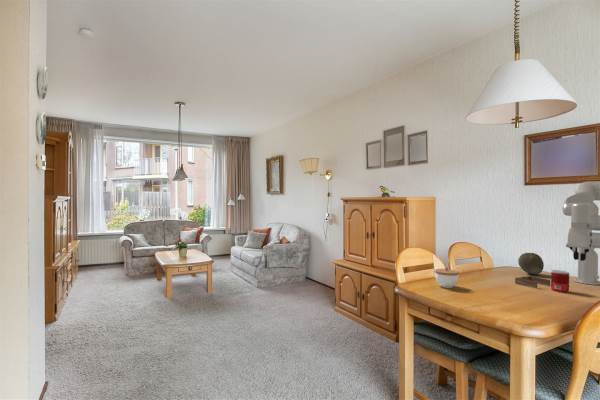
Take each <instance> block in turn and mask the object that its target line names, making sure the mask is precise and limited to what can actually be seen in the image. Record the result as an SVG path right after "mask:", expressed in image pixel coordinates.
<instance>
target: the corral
mask: <svg viewBox="0 0 600 400" xmlns="http://www.w3.org/2000/svg"><path fill="white" fill-rule="evenodd" d="M514 279H515V283H514V284H516V285H520V286H525V287H528V288H533V289H538V284H539V285H543V286H548V287H551V279H546V278H541V277H538V276H537V277H536V276H534V275H525V276H518V277H515V278H514Z"/></svg>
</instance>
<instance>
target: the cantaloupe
mask: <svg viewBox="0 0 600 400" xmlns="http://www.w3.org/2000/svg"><path fill="white" fill-rule="evenodd" d="M517 262H518V266H519V267H520V269H521V270H522V271H523V272H525V273H526V274H529V275H531V276H535V275H539V274H541V273H542V272H543V271H544V268H545V267H544V266H545V263H544V261H543V258H542V257H541V256H540V255H539V254H537V253H535V252H524V253H522V254H521V255H519V258H518V261H517Z"/></svg>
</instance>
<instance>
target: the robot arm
mask: <svg viewBox="0 0 600 400" xmlns="http://www.w3.org/2000/svg"><path fill="white" fill-rule="evenodd" d="M574 191H575V192H574V193H575V194H574V193H573V194H572V195H569V196H568V197H566V198H565V200H564V202H563V205H562V213H563V214H564V216H567V217H570V219H571V220H570V227H569V230H568V234H567V243H566V245H565V247H566V248H569V249H570V250H571V251H572V252H573V255H572V256H573V260H574V261H577V277H576V278H574V281H575V282H577V283H580V284H585V285H591V286H592V285H594V286H595V285H596V286H598V285H600V281H599V279H600V275H599V254H598V253H597V252H596V251H595V249H600V215H599V206H598V205H597V203H596V202H594V201H598V202H599V201H600V180H599V181H583V182H581V183H580V184H579V185H578V187H577V188H576V189H575V190H574ZM593 231H597V232H593Z"/></svg>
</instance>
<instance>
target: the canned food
mask: <svg viewBox="0 0 600 400" xmlns="http://www.w3.org/2000/svg"><path fill="white" fill-rule="evenodd" d="M550 275H551V276H550V278H551V279H550V290H551V291H553V292H558V293H563V294H565V293H569V291H570V272H569V271H566V270H561V269H560V270H559V269H552V270H551V273H550Z"/></svg>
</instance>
